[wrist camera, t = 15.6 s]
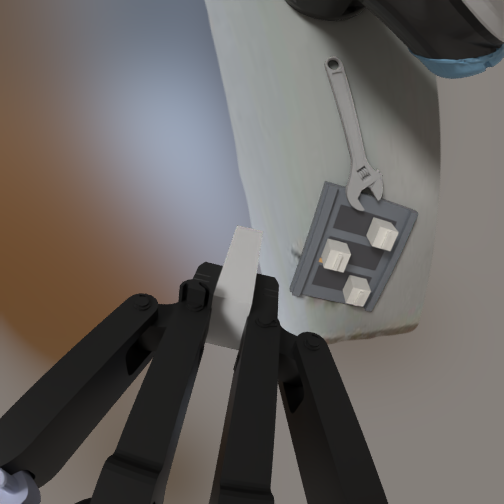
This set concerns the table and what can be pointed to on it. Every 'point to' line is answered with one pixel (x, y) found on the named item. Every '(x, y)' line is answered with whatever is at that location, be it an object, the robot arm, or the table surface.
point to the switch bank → (350, 245)
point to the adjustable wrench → (353, 139)
